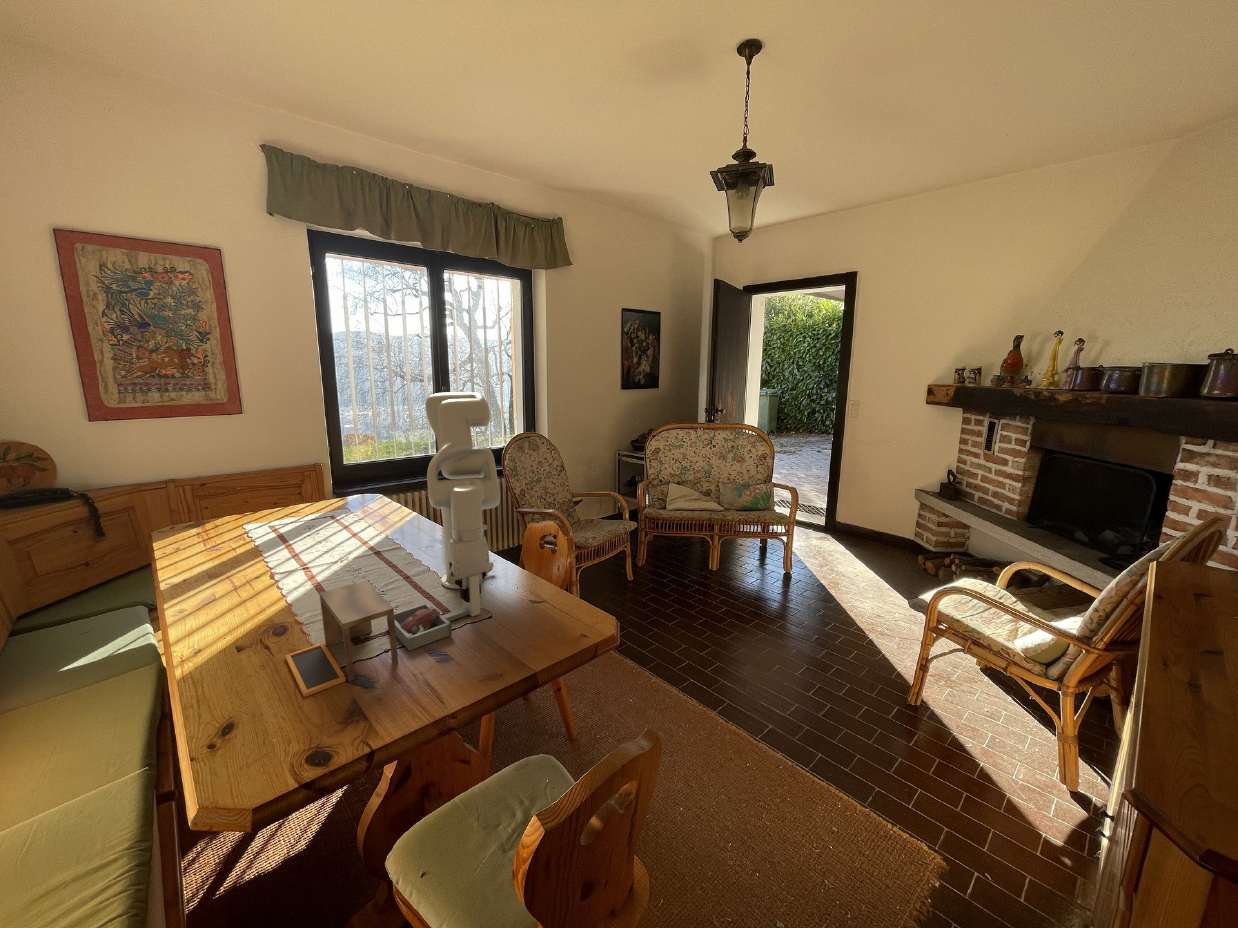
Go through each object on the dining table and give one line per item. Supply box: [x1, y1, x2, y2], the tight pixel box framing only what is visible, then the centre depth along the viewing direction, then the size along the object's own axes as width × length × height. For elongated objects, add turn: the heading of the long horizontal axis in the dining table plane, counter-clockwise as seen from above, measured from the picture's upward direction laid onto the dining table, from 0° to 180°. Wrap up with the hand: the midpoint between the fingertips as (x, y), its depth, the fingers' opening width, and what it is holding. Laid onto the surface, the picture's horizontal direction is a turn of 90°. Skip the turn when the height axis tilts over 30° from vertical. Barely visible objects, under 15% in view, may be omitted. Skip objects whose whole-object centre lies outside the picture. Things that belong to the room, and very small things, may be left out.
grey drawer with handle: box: [386, 574, 482, 651], centre depth 125 cm, size 20×14×11 cm
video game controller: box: [400, 606, 441, 636], centre depth 122 cm, size 10×5×7 cm, turn 148°
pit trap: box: [284, 642, 347, 698], centre depth 107 cm, size 8×18×1 cm, turn 43°
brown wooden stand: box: [319, 580, 399, 682], centre depth 112 cm, size 10×18×13 cm, turn 43°
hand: (471, 598), depth 131 cm, fingers open, 2 cm apart
